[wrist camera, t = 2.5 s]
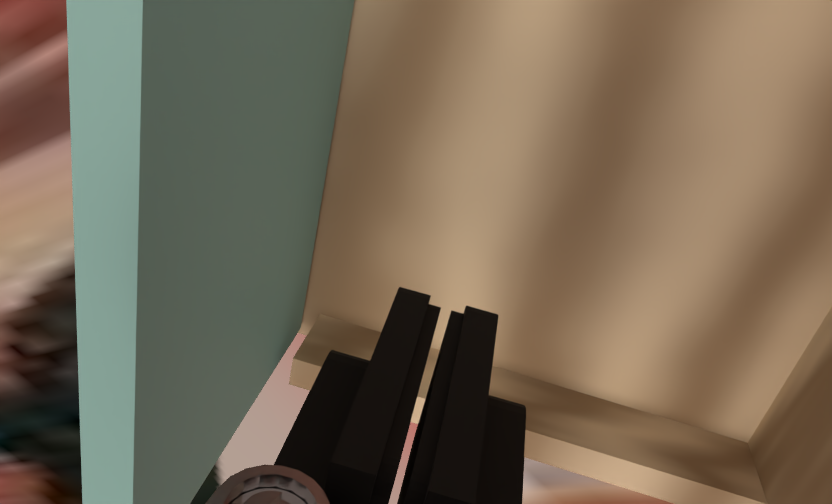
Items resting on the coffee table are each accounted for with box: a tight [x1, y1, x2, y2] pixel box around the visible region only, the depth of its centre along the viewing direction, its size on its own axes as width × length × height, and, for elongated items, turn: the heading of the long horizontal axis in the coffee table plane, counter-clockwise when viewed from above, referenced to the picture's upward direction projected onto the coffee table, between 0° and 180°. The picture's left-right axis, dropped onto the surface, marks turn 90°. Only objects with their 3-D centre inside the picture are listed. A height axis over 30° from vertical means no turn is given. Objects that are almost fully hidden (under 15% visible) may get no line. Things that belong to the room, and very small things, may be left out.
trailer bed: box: [289, 0, 832, 504], centre depth 20 cm, size 20×20×10 cm
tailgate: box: [67, 0, 354, 504], centre depth 17 cm, size 2×19×12 cm, turn 168°
